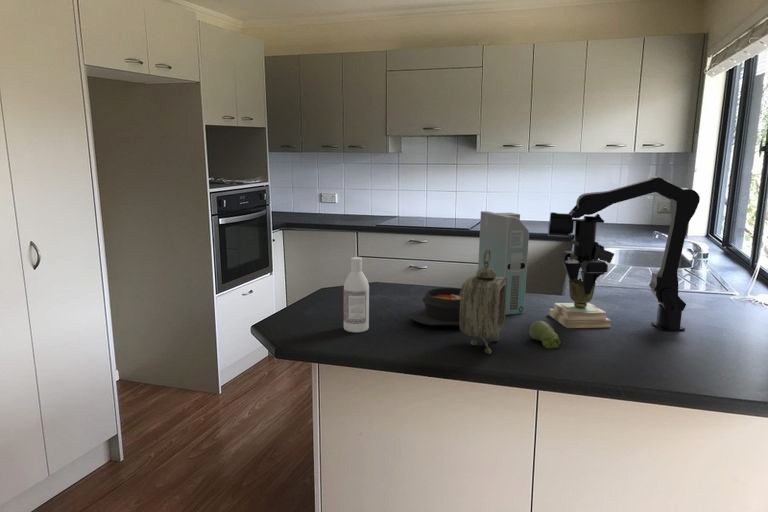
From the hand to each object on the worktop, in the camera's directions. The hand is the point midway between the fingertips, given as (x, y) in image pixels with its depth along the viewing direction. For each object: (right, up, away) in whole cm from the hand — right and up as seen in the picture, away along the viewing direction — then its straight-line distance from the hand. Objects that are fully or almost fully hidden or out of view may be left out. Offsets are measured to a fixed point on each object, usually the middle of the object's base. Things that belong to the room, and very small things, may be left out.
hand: (580, 290), depth 167 cm
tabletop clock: (-33, -13, -22) cm, 41 cm away
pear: (-16, -13, -18) cm, 27 cm away
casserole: (-38, -9, 0) cm, 39 cm away
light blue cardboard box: (-21, -7, +15) cm, 26 cm away
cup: (0, -5, +1) cm, 5 cm away
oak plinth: (0, -9, +2) cm, 9 cm away
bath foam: (-65, -10, -9) cm, 67 cm away
